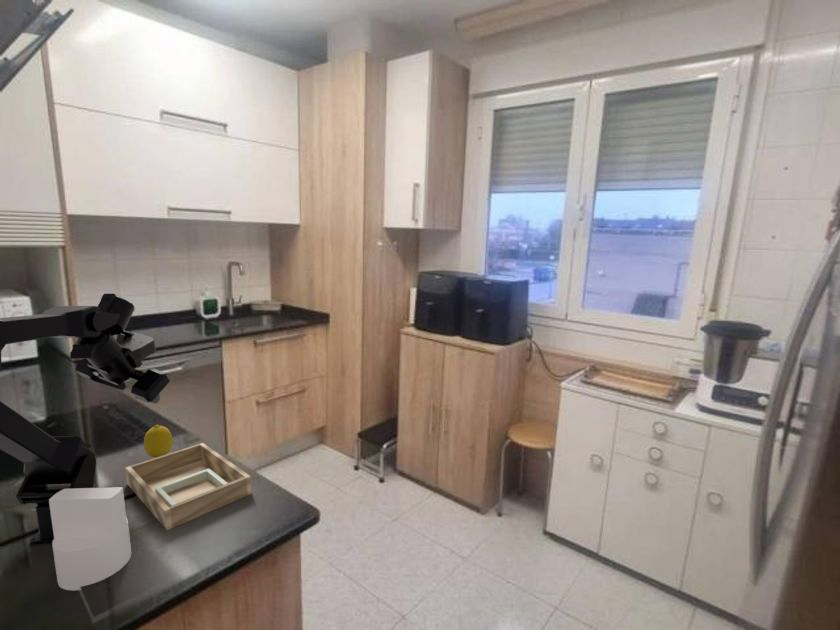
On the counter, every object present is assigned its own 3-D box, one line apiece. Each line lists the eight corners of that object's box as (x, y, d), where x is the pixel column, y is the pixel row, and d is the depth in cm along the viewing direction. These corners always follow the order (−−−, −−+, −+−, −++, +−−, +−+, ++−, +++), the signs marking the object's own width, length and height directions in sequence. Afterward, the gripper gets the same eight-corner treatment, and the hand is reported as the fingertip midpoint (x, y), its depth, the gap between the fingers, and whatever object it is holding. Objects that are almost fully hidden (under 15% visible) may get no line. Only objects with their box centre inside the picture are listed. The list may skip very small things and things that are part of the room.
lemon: (161, 465, 97) (157, 431, 96) (139, 463, 98) (136, 429, 97) (179, 454, 102) (176, 421, 101) (158, 451, 103) (155, 419, 102)
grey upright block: (144, 546, 71) (136, 476, 69) (107, 589, 62) (97, 510, 60) (86, 548, 70) (77, 478, 68) (40, 591, 61) (29, 512, 60)
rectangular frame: (231, 492, 85) (231, 485, 85) (175, 516, 78) (174, 508, 77) (209, 475, 92) (208, 468, 92) (155, 495, 84) (154, 487, 84)
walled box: (251, 495, 85) (250, 476, 84) (167, 532, 74) (165, 511, 73) (204, 459, 100) (202, 442, 99) (127, 486, 89) (125, 467, 88)
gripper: (173, 337, 89) (199, 379, 101) (100, 311, 93) (134, 354, 105) (131, 381, 82) (165, 420, 94) (54, 351, 86) (96, 392, 98)
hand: (140, 394), depth 98 cm, fingers open, 9 cm apart
